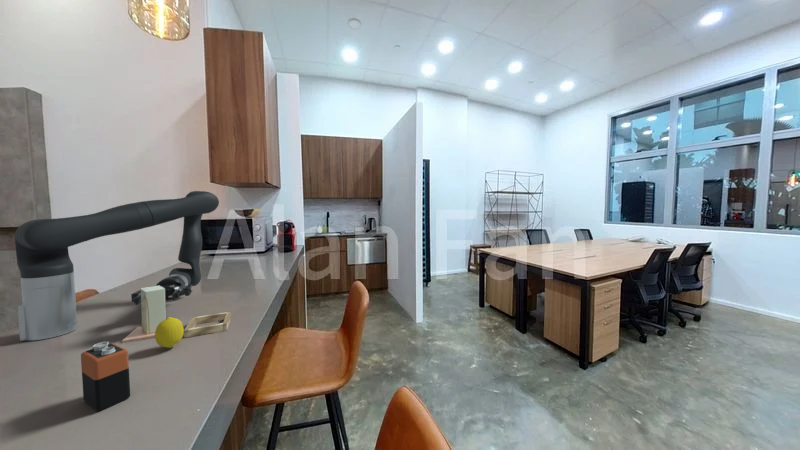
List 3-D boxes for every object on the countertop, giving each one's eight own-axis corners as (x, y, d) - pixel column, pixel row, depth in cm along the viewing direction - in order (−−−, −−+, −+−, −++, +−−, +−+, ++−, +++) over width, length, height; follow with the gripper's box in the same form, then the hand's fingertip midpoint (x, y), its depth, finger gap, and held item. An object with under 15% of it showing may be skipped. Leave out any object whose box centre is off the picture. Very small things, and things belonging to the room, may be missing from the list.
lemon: (167, 354, 64) (166, 322, 64) (149, 352, 66) (148, 320, 65) (190, 343, 70) (188, 313, 70) (172, 342, 71) (171, 312, 71)
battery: (116, 387, 52) (113, 337, 52) (131, 397, 49) (128, 344, 49) (82, 401, 48) (79, 347, 48) (97, 413, 45) (93, 355, 45)
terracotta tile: (122, 342, 71) (121, 340, 71) (137, 328, 80) (137, 326, 80) (170, 334, 76) (170, 332, 76) (180, 322, 84) (179, 320, 84)
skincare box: (141, 329, 78) (139, 288, 78) (161, 324, 82) (159, 284, 81) (146, 334, 74) (144, 291, 74) (167, 329, 78) (165, 287, 77)
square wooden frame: (183, 337, 73) (183, 330, 73) (193, 323, 83) (192, 317, 83) (227, 330, 78) (226, 323, 78) (231, 317, 88) (230, 311, 88)
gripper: (145, 278, 91) (123, 289, 77) (196, 273, 98) (184, 283, 83) (146, 300, 92) (124, 315, 77) (197, 293, 98) (186, 307, 84)
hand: (155, 299), depth 80 cm, fingers open, 8 cm apart
